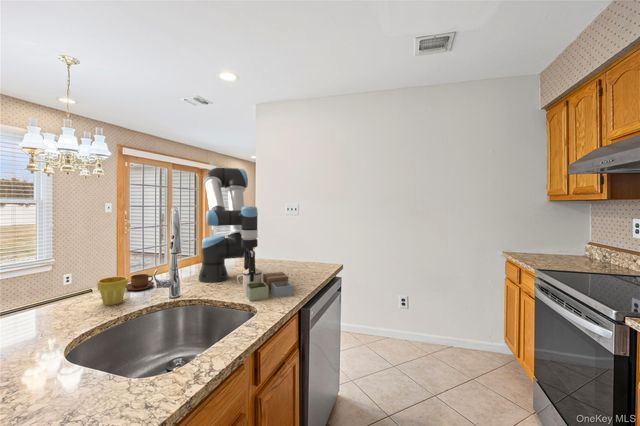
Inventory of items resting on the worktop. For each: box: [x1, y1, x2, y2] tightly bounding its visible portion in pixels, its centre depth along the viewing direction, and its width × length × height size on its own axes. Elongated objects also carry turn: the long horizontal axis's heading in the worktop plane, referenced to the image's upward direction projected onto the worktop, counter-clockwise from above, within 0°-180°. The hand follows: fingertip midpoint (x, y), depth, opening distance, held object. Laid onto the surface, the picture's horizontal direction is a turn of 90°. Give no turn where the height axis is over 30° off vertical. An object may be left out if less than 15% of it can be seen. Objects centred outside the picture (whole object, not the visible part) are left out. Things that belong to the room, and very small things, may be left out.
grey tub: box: [270, 281, 294, 298], centre depth 136 cm, size 8×8×5 cm
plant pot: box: [96, 275, 129, 306], centre depth 124 cm, size 10×10×10 cm
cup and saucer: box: [125, 273, 155, 291], centre depth 144 cm, size 12×12×6 cm
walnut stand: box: [262, 271, 290, 293], centre depth 145 cm, size 10×10×7 cm
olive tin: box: [245, 281, 269, 303], centre depth 131 cm, size 8×8×6 cm
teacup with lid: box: [236, 267, 263, 292], centre depth 143 cm, size 12×9×12 cm
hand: (249, 285), depth 143 cm, fingers closed on teacup with lid, 9 cm apart
